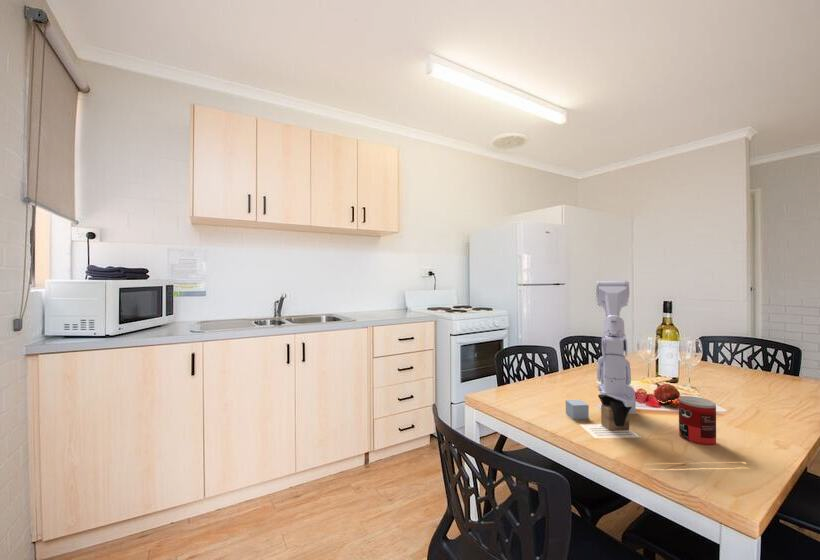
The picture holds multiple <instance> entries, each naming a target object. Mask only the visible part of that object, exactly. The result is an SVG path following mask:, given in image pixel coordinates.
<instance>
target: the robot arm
mask: <svg viewBox="0 0 820 560" xmlns="http://www.w3.org/2000/svg"><path fill="white" fill-rule="evenodd" d="M595 286H596V287H595V288H596V289H595V292H596V293H595V295H596V302H597V306H600V307H602V308H603V310H604V314H605V318H603V320H602V324H603V325H602V337H601V353H602V354H601V355H602V356H600V357H599V358H598V359H597V364H596V379H597V381H598V382H599V383H600V384H598V385H597V389H598V390H597V391H599V394H598V396H597V397H598V398H599V401H600V402H601V404H596V407H598V408H599V409H601V405H611V406H612V409H613V413H614V420H615V425H616V426H624V423H625V420H626V417H627V414H628V412H629V415H632V414H633V415H634V414H638V412H636V409H637V407H636V392H635V389H634V387H633V386H632V385H631V384H632V374H631V364H630V361H629V360H628V359H627V358H626V357H627V356H628V340H627V337H626V336H627V335H626V334H625V331H626V330H625V320H624V319H623V318H622V317H620V315H621V310H622V308H625V307H628V303H629V298H630V282H629V281H628V280H597V281H596V282H595ZM624 353H625V354H624Z"/></svg>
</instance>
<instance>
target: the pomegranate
mask: <svg viewBox="0 0 820 560" xmlns="http://www.w3.org/2000/svg"><path fill="white" fill-rule="evenodd" d="M655 385H656V386H657V387H656V388H655V389H654V390H653V398H654V399H655V398H656V399H657V400H659V401H662V402H666V401H668V400H671V403H672V402H674V401H676V400H677V399H679V397H680V395H681V393H680V391H679V390H678V388H677V387H675V386H674V385H672V384H669V383H663V384H659V383H658V382H656V383H655ZM656 399H655V400H656ZM675 399H676V400H675ZM657 400H656V401H657ZM672 400H674V401H672Z"/></svg>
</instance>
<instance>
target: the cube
mask: <svg viewBox="0 0 820 560" xmlns="http://www.w3.org/2000/svg"><path fill="white" fill-rule="evenodd" d="M589 407H590V405H589V404H588V403H586V402H584V401H583V400H582V399H565V414H566V415H567V416H568V417H569V418H571V419H572V420H589V419H590V416H589V414H590V413H589Z"/></svg>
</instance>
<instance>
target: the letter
mask: <svg viewBox="0 0 820 560" xmlns="http://www.w3.org/2000/svg"><path fill="white" fill-rule="evenodd" d="M579 426H580V427H581V428H583V429H584V430H585V431H586V432H587V433H588V434H590V435H591V436H592V437H593V438H594V439H617V438H618V439H619V438H620V439H621V438H622V439H623V438H641V436H640V435H639V434H638V433H636V432H634V431H633V430H632V429H630V428H629V430H608V429H607V428H605V427H604V426H603V425H601V423H590V424H585V423H584V424H579Z"/></svg>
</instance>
